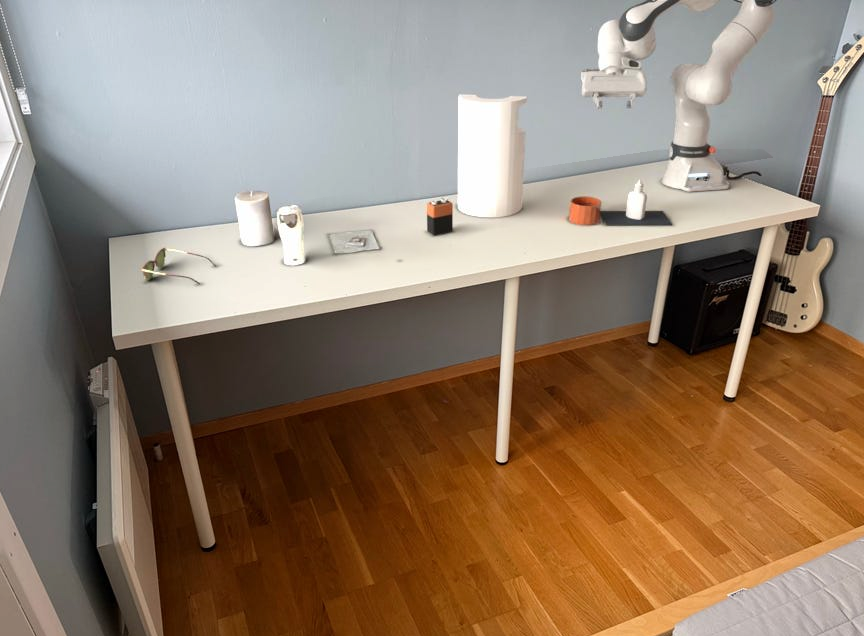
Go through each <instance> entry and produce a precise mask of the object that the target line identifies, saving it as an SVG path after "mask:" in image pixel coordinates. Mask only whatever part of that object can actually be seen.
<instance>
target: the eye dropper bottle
mask: <svg viewBox="0 0 864 636" xmlns="http://www.w3.org/2000/svg"><path fill="white" fill-rule="evenodd" d="M643 190H644V183H642V179H641V178H640V179H638V181H637V182H636V183H635V184H634V189H633V190H631V191H629V192H628V196H627V203H626V209H625V211H626V216H627V217H629V218H632V219H637V220H641V219H643V218H644V215H645V211H646V208H647V200H648V194H647V193H645V192H644V191H643Z"/></svg>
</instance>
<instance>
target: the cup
mask: <svg viewBox="0 0 864 636" xmlns="http://www.w3.org/2000/svg"><path fill="white" fill-rule="evenodd" d="M569 202H570V203H569V213H568V220H569V222H571V223H572V224H575V225H578V226H579V225H580V226H592V225H596V224H598V223H600V220H601V214H600V212H601V211H602V201H601V199H599V198H597V197H594V196H586V195H585V196H584V195H583V196H576V197H573V198H571V199H570V201H569Z"/></svg>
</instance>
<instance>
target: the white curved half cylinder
mask: <svg viewBox="0 0 864 636" xmlns="http://www.w3.org/2000/svg"><path fill="white" fill-rule="evenodd" d="M527 102H528V96H525V95H524V96H521V95H510V96H507V97H502V98H484V97H478V96H477V94H469V93H468V94H467V93H465V94H464V93H459V94H458V115H457V117H458V118H457V119H458V120H457V121H458V122H457V123H458V124H457V125H458V127H457V128H458V129H457V132H458V133H457V137H458V138H457V151H458V152H457V208H458V210H459V211H460V212H461V213H463V214H466V215H469V216H474V217H478V218H502V217H508V216H513V215H515V214H517V213H519V212H520V211H521V210H522V205H523V203H522V202H523V186H524V170H525V169H524V168H525V151H526V149H525V148H526V132H527V131H526V130H525V129H523V128H522V127H520V126H519V112H520V111H519V108H520V107H522V106H523V105H525V104H526V103H527Z"/></svg>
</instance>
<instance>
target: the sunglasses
mask: <svg viewBox="0 0 864 636" xmlns="http://www.w3.org/2000/svg"><path fill="white" fill-rule="evenodd" d="M166 251H169V252H170V251H171V252H178V253H184V254H187V255H192V256H196V257H200V258H204V259H206V260H208V261H209V263H211V264H212V266H214V267H217V265H216V263H214V262H213V261H212V260H211V259H210V258H209V257H208V256H204V255H201V254H197V253H193V252H192V253H191V252H187V251H182V250H177V249H172V248H166V247H163V248H160V250H159V251H158V252H157V253H156V254H155V257H154V259H153V260H148V261H147V262H145V263H144V265H142V267H141V272H142V274H143V277H144V279H145V281H146V282H148V281H150V280H151V279H152V278H153V275H154V274H158V275H163V276H169V277H177V278H185V279H189V280H192V281H193V282H195V283H196V284H198V285H201V282H199V281H197V280H195V279H194V278H193V277H190V276H186V275H180V274H179V275H178V274H172V273H164V272H157V271H155V268H157V269H158V270H162V268H163V267H164V265H165V262H166V259H165V258H166Z"/></svg>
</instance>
